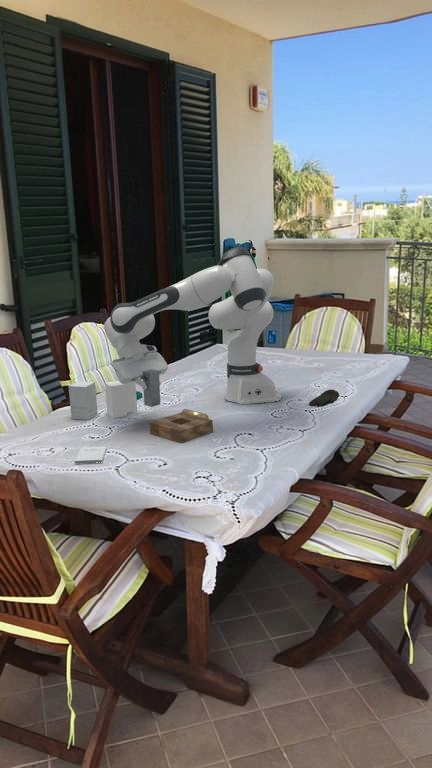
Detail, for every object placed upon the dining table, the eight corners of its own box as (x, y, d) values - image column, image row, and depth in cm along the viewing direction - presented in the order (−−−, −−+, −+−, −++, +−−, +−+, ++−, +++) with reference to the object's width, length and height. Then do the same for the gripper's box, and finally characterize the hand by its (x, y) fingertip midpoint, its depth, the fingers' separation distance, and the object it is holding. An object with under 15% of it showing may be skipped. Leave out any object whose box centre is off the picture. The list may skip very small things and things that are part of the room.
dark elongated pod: (325, 409, 245) (325, 401, 245) (307, 406, 249) (307, 399, 248) (346, 395, 264) (346, 388, 263) (328, 393, 268) (329, 386, 267)
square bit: (153, 402, 231) (151, 369, 228) (160, 404, 228) (158, 370, 225) (144, 404, 228) (142, 371, 225) (151, 407, 225) (150, 373, 222)
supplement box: (98, 414, 244) (96, 381, 241) (88, 420, 238) (85, 386, 235) (81, 413, 247) (78, 380, 244) (70, 419, 240) (67, 385, 237)
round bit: (180, 421, 235) (180, 410, 234) (188, 418, 238) (188, 407, 237) (200, 426, 228) (200, 415, 227) (208, 423, 231) (208, 412, 230)
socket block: (182, 423, 232) (181, 412, 231) (212, 431, 222) (212, 420, 221) (150, 433, 221) (149, 422, 220) (180, 442, 211) (180, 431, 210)
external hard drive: (74, 466, 195) (81, 451, 207) (102, 464, 195) (107, 450, 207) (74, 460, 195) (80, 446, 207) (102, 459, 195) (106, 445, 207)
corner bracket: (113, 418, 240) (110, 386, 237) (103, 410, 250) (101, 380, 247) (140, 413, 244) (138, 382, 242) (129, 406, 254) (128, 376, 251)
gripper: (112, 355, 221) (132, 388, 217) (158, 345, 235) (178, 376, 231) (105, 366, 225) (125, 398, 221) (151, 356, 239) (170, 386, 235)
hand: (152, 387), depth 226 cm, fingers closed on square bit, 4 cm apart
